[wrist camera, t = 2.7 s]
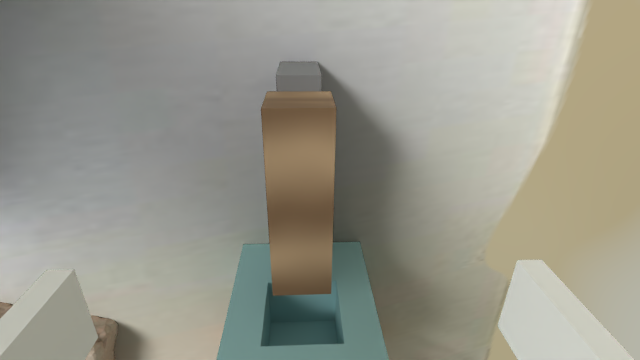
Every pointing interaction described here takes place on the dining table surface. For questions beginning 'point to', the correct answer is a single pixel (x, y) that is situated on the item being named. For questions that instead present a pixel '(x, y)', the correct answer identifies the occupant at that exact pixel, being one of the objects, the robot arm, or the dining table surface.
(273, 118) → the bar
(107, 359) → the brick
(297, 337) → the block
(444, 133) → the dining table surface
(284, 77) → the rail
